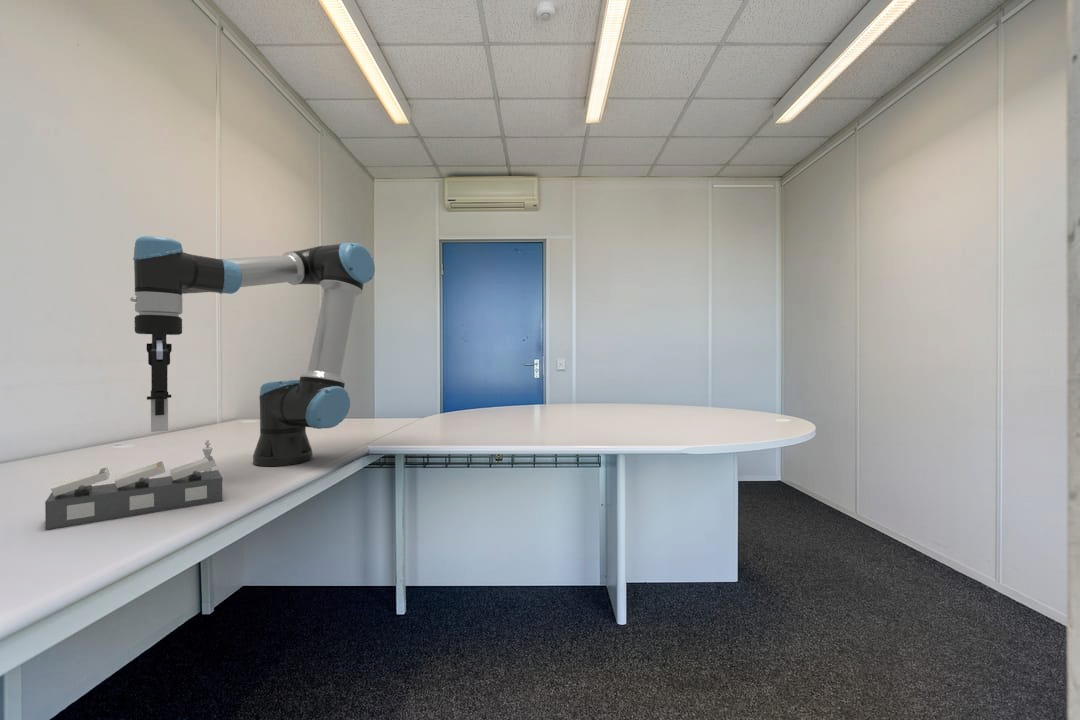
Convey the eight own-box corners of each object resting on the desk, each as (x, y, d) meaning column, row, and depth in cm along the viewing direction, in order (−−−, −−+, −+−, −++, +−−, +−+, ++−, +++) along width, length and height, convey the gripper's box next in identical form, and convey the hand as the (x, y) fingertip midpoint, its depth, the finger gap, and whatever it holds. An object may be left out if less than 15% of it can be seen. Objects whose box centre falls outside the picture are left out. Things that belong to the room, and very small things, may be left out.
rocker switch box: (218, 492, 106) (218, 467, 106) (222, 501, 99) (222, 474, 99) (52, 517, 89) (52, 488, 89) (45, 530, 83) (45, 498, 83)
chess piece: (201, 485, 111) (201, 443, 111) (191, 482, 113) (190, 441, 113) (224, 480, 115) (223, 439, 115) (213, 477, 118) (213, 437, 118)
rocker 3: (214, 463, 104) (211, 455, 103) (217, 467, 100) (214, 459, 100) (173, 478, 99) (170, 469, 99) (174, 482, 96) (170, 473, 95)
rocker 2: (165, 469, 98) (162, 460, 98) (166, 474, 95) (162, 464, 95) (119, 485, 94) (115, 475, 93) (118, 490, 90) (114, 480, 90)
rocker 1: (110, 476, 93) (106, 467, 93) (109, 481, 90) (105, 471, 89) (58, 493, 88) (54, 483, 88) (54, 498, 85) (50, 488, 85)
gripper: (135, 315, 98) (136, 428, 99) (133, 311, 88) (134, 437, 89) (180, 317, 103) (181, 425, 103) (183, 314, 93) (184, 433, 93)
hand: (159, 430), depth 96 cm, fingers closed
